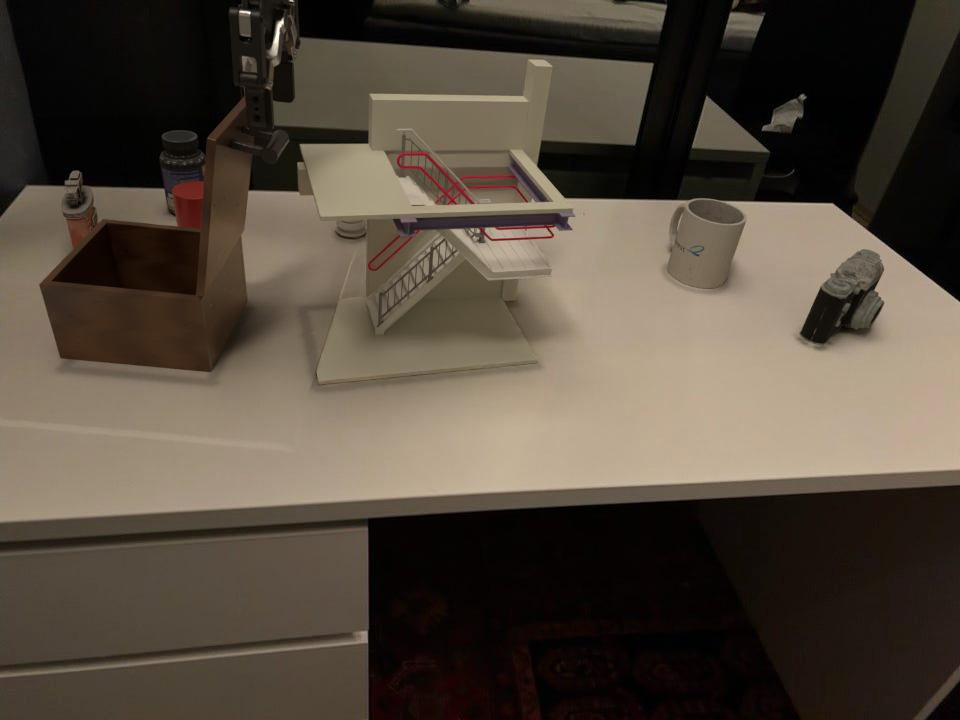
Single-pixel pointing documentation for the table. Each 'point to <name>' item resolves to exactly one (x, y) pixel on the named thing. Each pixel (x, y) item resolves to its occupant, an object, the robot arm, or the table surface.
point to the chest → (142, 298)
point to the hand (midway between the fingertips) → (272, 114)
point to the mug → (704, 241)
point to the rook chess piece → (351, 228)
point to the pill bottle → (180, 162)
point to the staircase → (438, 230)
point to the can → (188, 203)
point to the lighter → (78, 208)
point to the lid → (229, 188)
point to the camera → (846, 298)
